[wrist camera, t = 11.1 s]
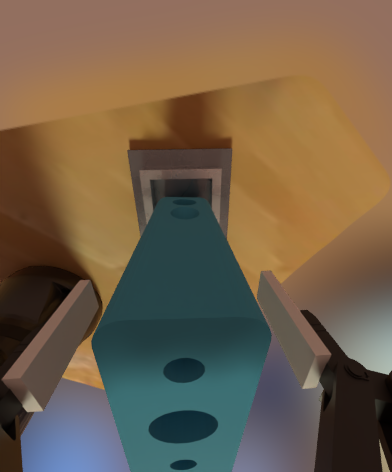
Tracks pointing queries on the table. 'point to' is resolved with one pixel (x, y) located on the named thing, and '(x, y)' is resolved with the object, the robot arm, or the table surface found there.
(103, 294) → the table surface
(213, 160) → the grey rectangular tray
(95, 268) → the table surface
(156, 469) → the block
